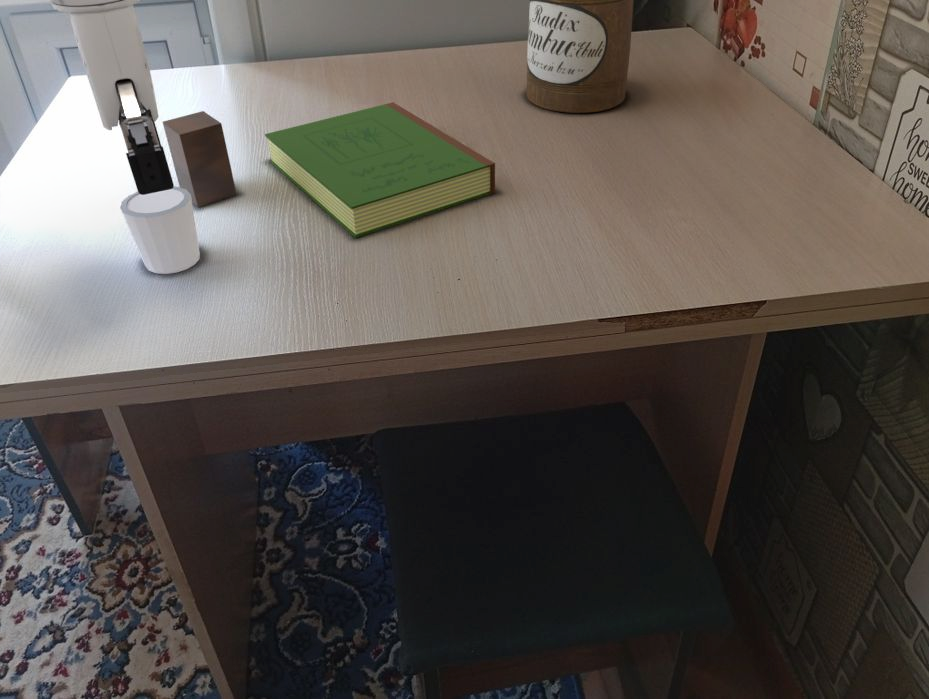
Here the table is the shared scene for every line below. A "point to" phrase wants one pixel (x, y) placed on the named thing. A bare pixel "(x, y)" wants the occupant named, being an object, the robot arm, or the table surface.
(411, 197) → the hardcover book
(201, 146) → the walnut block
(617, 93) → the wooden container
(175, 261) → the white cup
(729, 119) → the table surface
